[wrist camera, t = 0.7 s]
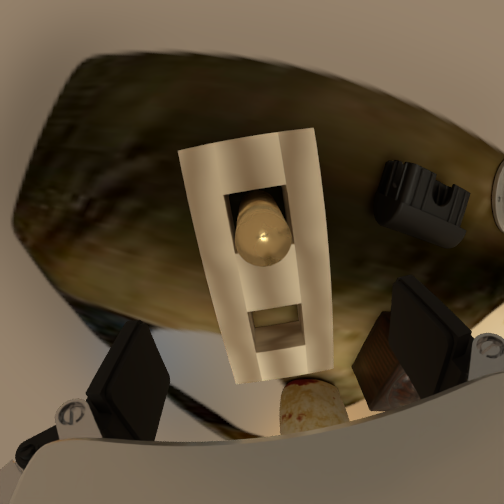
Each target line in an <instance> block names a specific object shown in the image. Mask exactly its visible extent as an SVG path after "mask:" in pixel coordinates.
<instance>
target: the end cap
mask: <svg viewBox="0 0 504 504" xmlns="http://www.w3.org/2000/svg"><path fill="white" fill-rule="evenodd" d="M436 175H437V174H435V173H433V172H431V171H429V170H427V169H425V168H423V167H421V166H419V165H417V164H414V163H410V162H405V164H404V165H403V164H402V162H401V161H397V160H394V161H387V162H386V164H385V168H384V171H383V175H382V178H381V181H380V185H379V188H378V191H377V192H376V196H375V201H374V215H375V218H376V221H377V222H378V223H379V224H380V225H382V226H384V227H387V228H390V229H393V230H396V231H399V232H402V233H405V234H408V235H410V236H413V237H416V238H419V239H422V240H424V241H427V242H430V243H432V244H435V245H438V246H440V247H443V248H452V247H454V246H456V245H457V244H459V243H460V241H461V240H462V239H463V237H464V236H465V233H466V230H464V229H462V228H460V225H461V222H462V219H463V216H464V213H465V210H466V206H467V203H468V200H469V196H470V193H469V192H467V191H466V190H464V189H462V188H461V187H459V186H457V185H455V184H453V185H452V187H449V186H446V185H444V184H443V183H441V182H439V181H437V180H435V179H436Z"/></svg>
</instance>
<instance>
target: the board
mask: <svg viewBox="0 0 504 504" xmlns="http://www.w3.org/2000/svg"><path fill="white" fill-rule="evenodd" d="M178 154H179V159H180V164H181V169H182V174H183V179H184V184H185V188H186V193H187V198H188V202H189V207H190V211H191V216H192V220H193V225H194V229H195V233H196V238H197V242H198V246H199V250H200V254H201V258H202V262H203V266H204V270H205V274H206V278H207V282H208V286H209V290H210V294H211V298H212V301H213V305H214V309H215V313H216V316H217V320H218V323H219V327H220V331H221V334H222V338H223V341H224V345H225V348H226V351H227V355H228V358H229V362H230V365H231V368H232V372H233V375H234V378H235V382H236V384H242V383H251V382H259V381H266V380H273V379H280V378H286V377H292V376H298V375H304V374H309V373H314V372H319V371H324V370H329V369H333V317H332V294H331V277H330V262H329V249H328V237H327V226H326V216H325V207H324V198H323V189H322V181H321V173H320V166H319V159H318V152H317V145H316V139H315V133H314V128H307V129H298V130H290V131H282V132H275V133H268V134H261V135H255V136H249V137H243V138H237V139H232V140H226V141H221V142H216V143H211V144H206V145H202V146H197V147H193V148H188V149H184V150H180V151H178ZM279 185H281V188H282V195H283V201H284V208H285V215H286V222H287V225H288V227H289V229H290V231H291V236H292V242H291V247H290V250H289V252H288V253H287V255H286V256H285V257H284V258H283V259H282V260H281V261H280V262H278V263H276V264H274V265H271V266H266V267H260V266H255V265H252V264H250V263H248V262H246V261H245V260H244V259H243V258H242V257H241V256H240V255H239V253H238V251H237V249H236V246H235V233H236V231H235V226H234V221H233V216H232V211H231V206H230V200H229V195H228V194H232V193H237V192H243V191H249V190H255V189H261V188H267V187H273V186H279ZM293 304H297V309H298V318H299V321H295V322H289V323H284V324H278V325H271V326H265V327H258V328H255V326H254V321H253V316H252V312H251V311H257V310H263V309H269V308H276V307H282V306H288V305H293Z"/></svg>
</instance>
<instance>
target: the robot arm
mask: <svg viewBox="0 0 504 504" xmlns="http://www.w3.org/2000/svg"><path fill="white" fill-rule="evenodd" d="M492 208H493V215H494V218H495V222H496V224H497V226H498V228H499V229H500V230H501V231H502V232H503V233H504V161H503V162H502V163H501V165H500V167H499V169H498V171H497V174H496V176H495V180H494V184H493V191H492ZM471 333H472V331H471V330H470V329H469V328H468V327H467V326H466V325H465V324H464V323H463V322H462V321H461V320H460V319H459V318H458V317H457V316H456V315H455V314H454V313H453V312H452V311H451V310H450V309H449V308H448V307H446V306H445V305H444V304H443V303H442V302H441V301H440V300H439V299H438V298H437V297H436V296H435V295H434V294H433V293H432V292H430V291H429V290H428V289H427V288H426V287H425V286H424V285H423V284H422V283H421V282H420V281H418V280H417V279H416V278H415V277H414V276H413V275H407V276H403V277H399V278H397V280H396V282H394V283H393V289H392V305H391V317H390V328H389V337H388V342H389V346H390V348H391V350H392V351H393V353H394V355H395V356H396V358H397V359H398V361H399V363H400V364H401V366H402V368H403V369H404V371H405V373H406V374H407V376H408V378H409V379H410V381H411V383H412V384H413V386H414V388H415V389H416V391H417V393H418V395H419V396H420V398H421V400H418V401H416V402H413V403H410V404H407V405H404V406H401V407H398V408H395V409H392V410H389V411H386V412H383V413H379V414H376V415H373V416H369V417H366V418H362V419H358V420H354V421H350V422H346V423H342V424H338V425H333V426H329V427H324V428H319V429H314V430H309V431H303V432H297V433H291V434H285V435H278V436H271V437H262V438H253V439H242V440H228V441H209V442H161V441H160V442H159V441H154V440H155V436H156V433H157V429H158V425H159V421H160V417H161V414H162V410H163V406H164V402H165V399H166V395H167V391H168V388H169V384H170V376H169V374H168V371H167V369H166V367H165V365H164V363H163V360H162V358H161V356H160V353H159V351H158V349H157V347H156V344H155V342H154V339H153V337H152V335H151V332H150V330H149V327H148V325H147V324H145V323H143V322H142V321H141V320H137V321H128V322H126V323H125V325H124V326H123V328H122V330H121V331H120V333H119V335H118V336H117V338H116V340H115V342H114V343H113V345H112V347H111V348H110V350H109V352H108V354H107V355H106V357H105V359H104V361H103V362H102V364H101V366H100V368H99V369H98V371H97V373H96V375H95V377H94V378H93V380H92V382H91V384H90V386H89V388H88V389H87V392H86V395H87V396H88V398H87V399H86V401H85V400H82V399H72V400H69V401H67V402H65V403H63V404H62V405H61V406H60V407H59V408H58V410H57V412H56V415H55V423H56V425H55V426H53V427H51V428H49V429H47V430H45V431H43V432H42V433H39V434H37V435H36V436H34V437H32V438H30V439H28V440H26V441H24V442H23V443H21V444H20V445H19V447H18V449H17V451H16V455H15V459H16V462H14V461H13V460H11V461H10V462H9V463H7V464H6V465H5V466H4V467H3V468H2V469H0V504H504V339H503V338H502V337H500V336H499V335H497V334H492V333H484V334H480V335H478V336H477V337H476V338H475V339H474V338H473V337H472V336H471Z"/></svg>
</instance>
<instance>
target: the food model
mask: <svg viewBox="0 0 504 504" xmlns="http://www.w3.org/2000/svg"><path fill="white" fill-rule="evenodd" d="M346 422H350V421H349V418H348V415H347V412H346V409H345V406H344V404H343V402H342V400H341V397H340V394H339V390H338V389H337V388H336V387H334V386H333V385H331V384H329V383H326V382H323V381H320V380H316V379H299V380H294V381H291V382H289V383H288V384H287V385H286V386H285V387H284V389H283V391H282V395H281V402H280V433H281V435H285V434H291V433H297V432H303V431H309V430H314V429H319V428H324V427H329V426H333V425H338V424H342V423H346Z"/></svg>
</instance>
